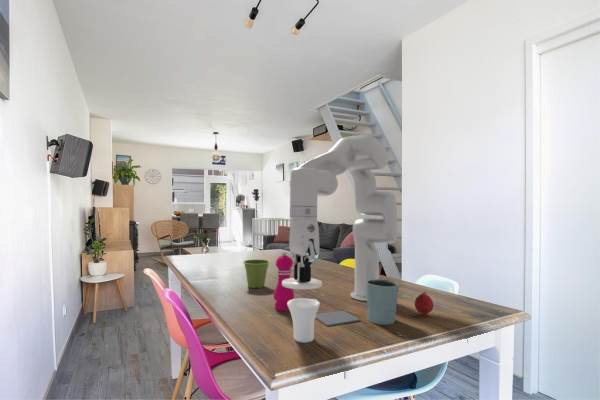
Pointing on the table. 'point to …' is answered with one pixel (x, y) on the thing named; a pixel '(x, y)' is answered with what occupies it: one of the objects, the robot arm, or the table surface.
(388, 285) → the blue round container
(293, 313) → the cup
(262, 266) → the plant pot
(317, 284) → the lid
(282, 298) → the pepper mill
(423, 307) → the onion
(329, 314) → the mat
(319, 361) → the table surface
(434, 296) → the table surface
